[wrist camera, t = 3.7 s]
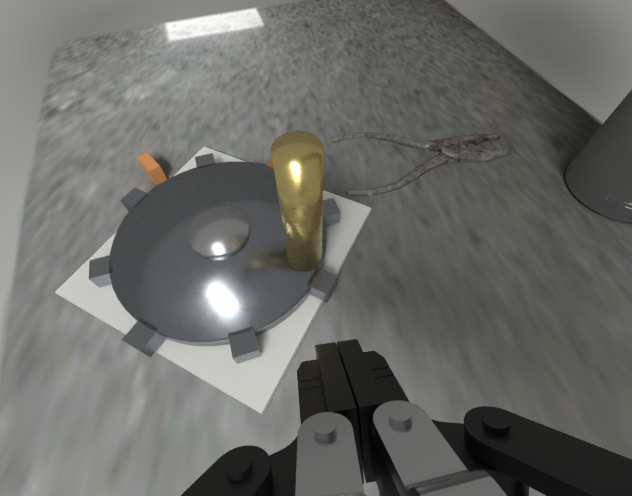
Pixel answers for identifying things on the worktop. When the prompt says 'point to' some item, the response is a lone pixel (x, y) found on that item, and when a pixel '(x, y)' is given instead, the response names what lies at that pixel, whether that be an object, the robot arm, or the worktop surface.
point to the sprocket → (223, 250)
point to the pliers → (449, 153)
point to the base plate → (216, 361)
